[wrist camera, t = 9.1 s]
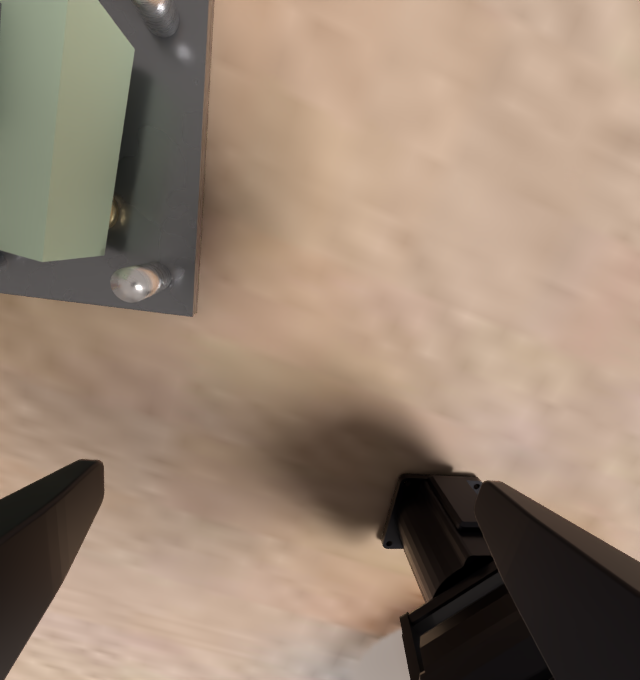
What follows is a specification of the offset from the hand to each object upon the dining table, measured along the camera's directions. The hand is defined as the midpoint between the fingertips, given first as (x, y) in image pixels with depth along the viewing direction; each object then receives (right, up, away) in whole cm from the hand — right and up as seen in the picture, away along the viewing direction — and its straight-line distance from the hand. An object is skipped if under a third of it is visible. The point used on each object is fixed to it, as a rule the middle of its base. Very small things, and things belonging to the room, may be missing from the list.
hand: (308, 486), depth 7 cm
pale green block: (-10, +12, +5) cm, 16 cm away
